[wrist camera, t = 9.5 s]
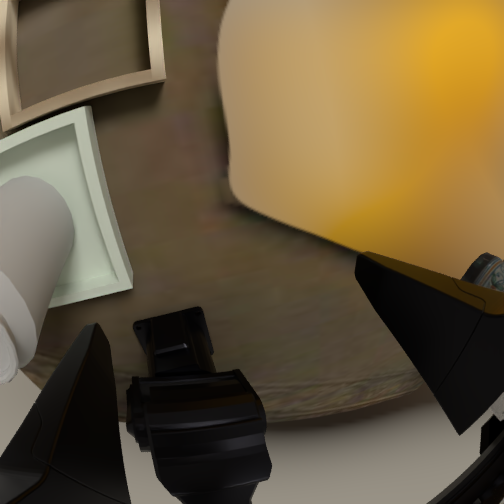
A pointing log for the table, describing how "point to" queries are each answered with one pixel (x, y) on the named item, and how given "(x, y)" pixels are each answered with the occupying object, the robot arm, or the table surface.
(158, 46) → the holder
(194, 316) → the robot arm
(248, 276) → the table surface
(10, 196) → the can
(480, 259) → the beer stein
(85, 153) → the tray
